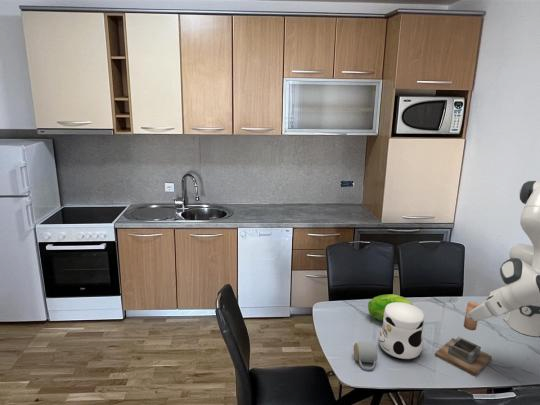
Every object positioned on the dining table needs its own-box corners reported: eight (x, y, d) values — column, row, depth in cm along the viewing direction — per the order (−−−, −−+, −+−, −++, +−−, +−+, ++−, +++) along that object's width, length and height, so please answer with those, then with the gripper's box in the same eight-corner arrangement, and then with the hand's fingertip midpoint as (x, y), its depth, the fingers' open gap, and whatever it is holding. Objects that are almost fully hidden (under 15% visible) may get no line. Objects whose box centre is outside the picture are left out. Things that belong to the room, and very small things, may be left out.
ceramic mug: (352, 353, 160) (353, 337, 158) (371, 354, 160) (373, 337, 158) (358, 371, 150) (360, 354, 148) (379, 371, 150) (381, 354, 148)
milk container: (369, 342, 168) (373, 304, 163) (401, 334, 174) (406, 298, 170) (396, 367, 152) (401, 326, 148) (430, 358, 159) (436, 318, 154)
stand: (452, 340, 171) (454, 329, 169) (491, 359, 159) (493, 347, 158) (434, 355, 160) (436, 344, 159) (475, 376, 149) (477, 364, 147)
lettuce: (418, 324, 183) (421, 301, 180) (373, 328, 178) (376, 305, 175) (403, 309, 195) (406, 288, 192) (361, 313, 190) (363, 292, 187)
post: (466, 322, 159) (470, 300, 156) (477, 327, 156) (482, 305, 153) (461, 326, 156) (465, 304, 153) (473, 331, 153) (477, 308, 150)
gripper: (506, 285, 153) (476, 298, 163) (486, 301, 140) (454, 314, 149) (516, 300, 151) (485, 312, 161) (497, 317, 138) (464, 329, 147)
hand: (470, 313), depth 155 cm, fingers closed on post, 4 cm apart
